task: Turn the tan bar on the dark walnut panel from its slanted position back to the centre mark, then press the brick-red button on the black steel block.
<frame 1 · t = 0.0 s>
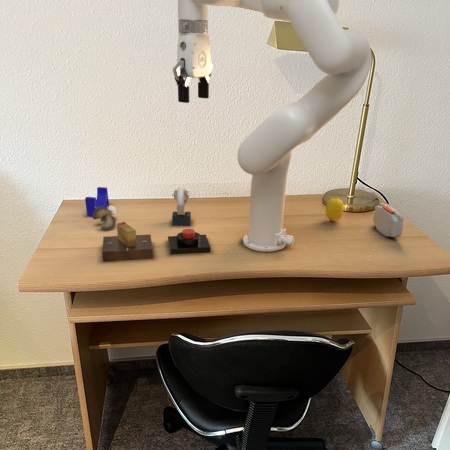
hand: (193, 100, 134), 37 cm above the table, tool pointing down, fingers open, 9 cm apart
eagle figurine: (105, 225, 152), on the table
button: (188, 234, 137), point 4 cm above the table, slide at 0.1 cm
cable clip: (100, 211, 163), on the table
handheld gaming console: (384, 233, 151), on the table
button block: (188, 247, 139), on the table
watch: (181, 223, 155), on the table
lemon: (332, 221, 159), on the table
tan bar: (126, 234, 132), point 5 cm above the table, hinge at -64.0°
panel: (128, 252, 135), on the table
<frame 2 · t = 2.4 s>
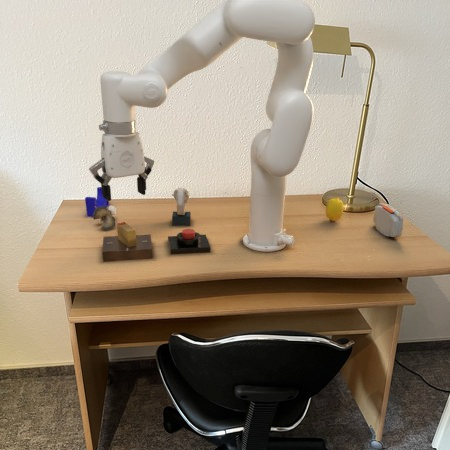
hand: (124, 196, 128), 16 cm above the table, tool pointing down, fingers open, 9 cm apart
nothing on the table moved.
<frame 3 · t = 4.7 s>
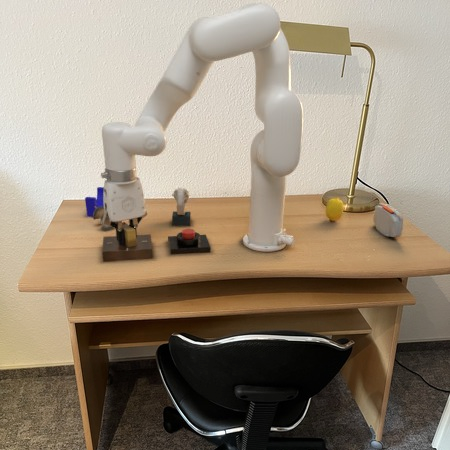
hand: (127, 241, 133), 3 cm above the table, tool pointing down, fingers closed on tan bar, 2 cm apart
tan bar: (126, 234, 132), point 5 cm above the table, hinge at -64.0°, touching gripper
everything else where it was.
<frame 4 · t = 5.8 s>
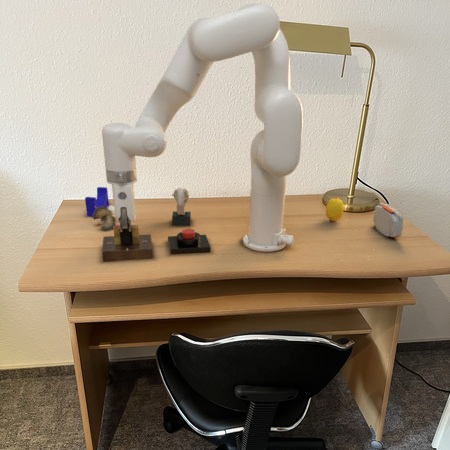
hand: (126, 242, 133), 3 cm above the table, tool pointing down, fingers closed, pressing on tan bar, panel
tan bar: (126, 234, 132), point 5 cm above the table, hinge at -0.5°, touching gripper
everything else where it was.
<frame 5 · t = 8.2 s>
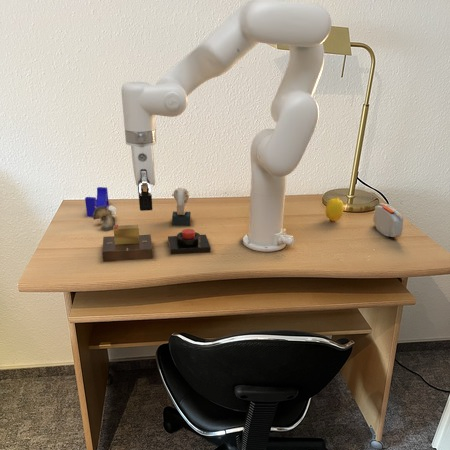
hand: (145, 203, 129), 14 cm above the table, tool pointing down, fingers open, 9 cm apart
tan bar: (126, 234, 132), point 5 cm above the table, hinge at -0.7°
everything else where it was.
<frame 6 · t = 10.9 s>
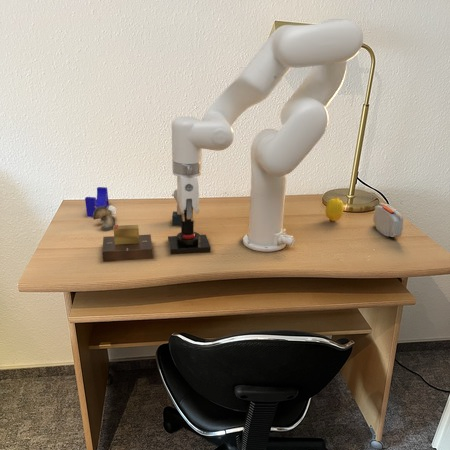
hand: (187, 233, 137), 4 cm above the table, tool pointing down, fingers closed
button: (188, 236, 137), point 3 cm above the table, slide at -0.6 cm, touching gripper
everything else where it was.
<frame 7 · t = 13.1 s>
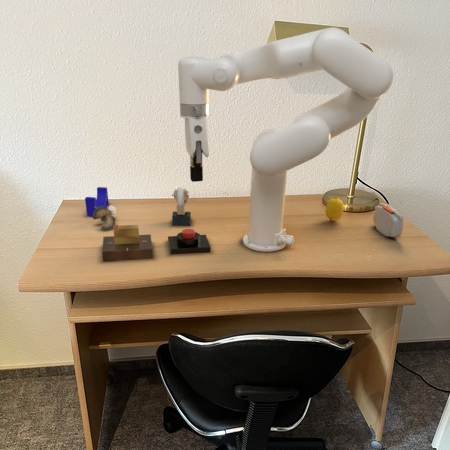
hand: (196, 180, 136), 17 cm above the table, tool pointing down, fingers closed
button: (188, 234, 137), point 4 cm above the table, slide at 0.1 cm
everything else where it was.
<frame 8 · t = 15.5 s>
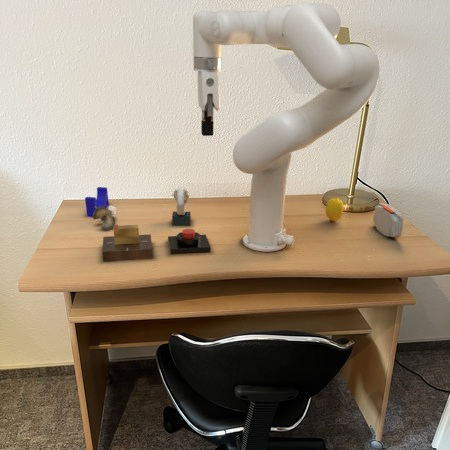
hand: (207, 135, 141), 27 cm above the table, tool pointing down, fingers closed
nothing on the table moved.
at the end: tan bar at -1° (first picture: -64°); button pushed in 1.1 cm at the most during the clip, back to where it started at the end; button slide at 0.1 cm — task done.
